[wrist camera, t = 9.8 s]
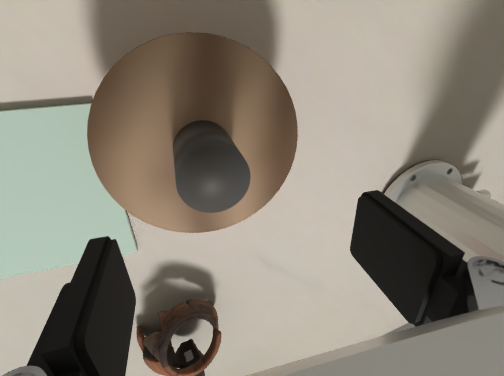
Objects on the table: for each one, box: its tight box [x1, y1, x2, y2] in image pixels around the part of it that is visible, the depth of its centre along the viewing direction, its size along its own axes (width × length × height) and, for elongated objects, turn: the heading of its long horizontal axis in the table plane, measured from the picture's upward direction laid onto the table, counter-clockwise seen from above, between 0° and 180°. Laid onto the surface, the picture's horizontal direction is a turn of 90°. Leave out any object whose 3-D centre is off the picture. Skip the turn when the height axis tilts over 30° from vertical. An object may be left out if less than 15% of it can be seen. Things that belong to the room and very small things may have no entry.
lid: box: [87, 32, 298, 233], centre depth 17 cm, size 14×14×6 cm
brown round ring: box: [137, 299, 221, 376], centre depth 34 cm, size 12×10×8 cm
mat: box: [0, 103, 138, 279], centre depth 24 cm, size 15×15×1 cm
